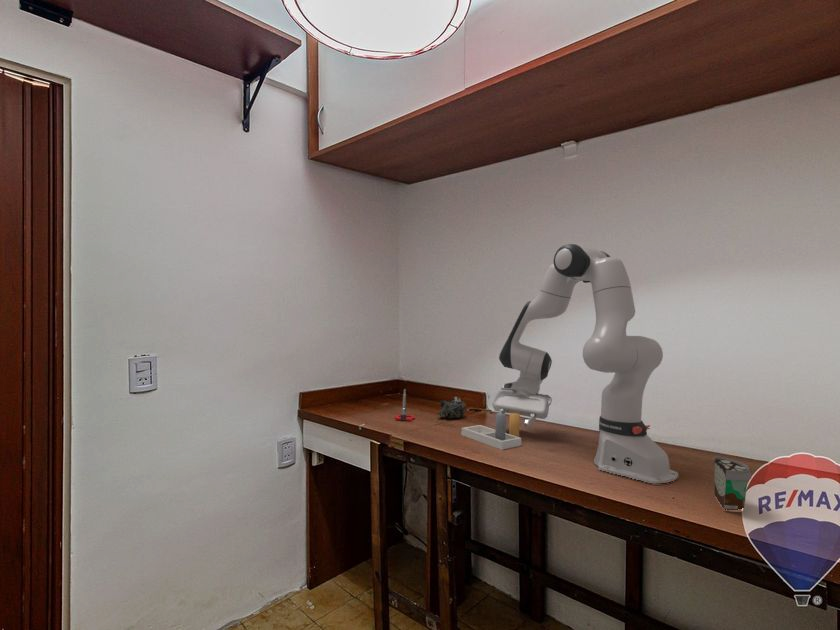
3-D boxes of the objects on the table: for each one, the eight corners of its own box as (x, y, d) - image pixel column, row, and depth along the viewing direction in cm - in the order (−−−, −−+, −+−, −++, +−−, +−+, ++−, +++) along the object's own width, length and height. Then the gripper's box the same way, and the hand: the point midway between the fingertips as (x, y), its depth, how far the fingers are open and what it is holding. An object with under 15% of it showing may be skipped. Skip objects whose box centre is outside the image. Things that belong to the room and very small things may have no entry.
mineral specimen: (432, 400, 200) (444, 384, 197) (455, 414, 203) (468, 397, 200) (433, 419, 186) (447, 401, 183) (459, 433, 189) (472, 416, 186)
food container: (758, 519, 100) (759, 474, 100) (725, 514, 102) (726, 470, 102) (741, 499, 112) (742, 458, 112) (712, 494, 114) (713, 455, 114)
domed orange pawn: (522, 442, 156) (523, 414, 156) (514, 444, 154) (514, 415, 154) (513, 439, 160) (514, 412, 160) (505, 441, 157) (506, 413, 157)
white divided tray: (521, 448, 149) (521, 438, 149) (501, 452, 144) (502, 441, 144) (480, 434, 165) (480, 424, 165) (461, 437, 160) (461, 427, 160)
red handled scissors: (396, 416, 192) (392, 420, 183) (397, 386, 192) (394, 388, 183) (416, 417, 191) (413, 422, 182) (417, 387, 192) (414, 390, 182)
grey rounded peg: (509, 444, 150) (509, 415, 150) (500, 446, 148) (501, 416, 148) (500, 441, 153) (500, 412, 153) (491, 442, 151) (492, 413, 151)
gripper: (555, 401, 161) (544, 433, 153) (502, 393, 173) (490, 423, 165) (551, 390, 158) (540, 423, 150) (498, 383, 170) (485, 413, 162)
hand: (513, 423), depth 158 cm, fingers open, 8 cm apart
